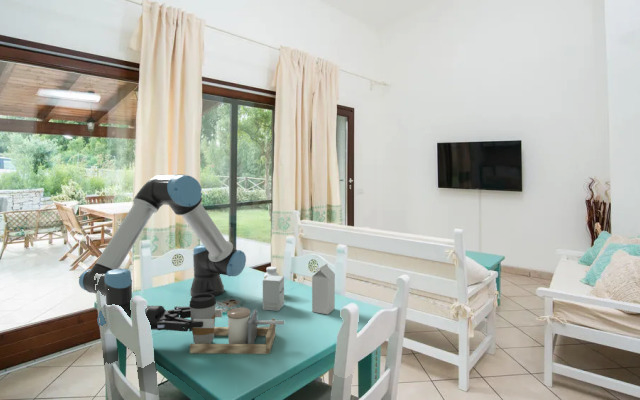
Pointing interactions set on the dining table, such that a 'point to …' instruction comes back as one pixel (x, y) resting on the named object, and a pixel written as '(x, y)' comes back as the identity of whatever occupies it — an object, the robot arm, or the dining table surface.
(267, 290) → the supplement box
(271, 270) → the supplement bottle
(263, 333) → the lane
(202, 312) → the coffee cup
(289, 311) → the dining table surface
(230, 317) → the cream jar
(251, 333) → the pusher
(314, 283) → the milk carton
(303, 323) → the dining table surface
